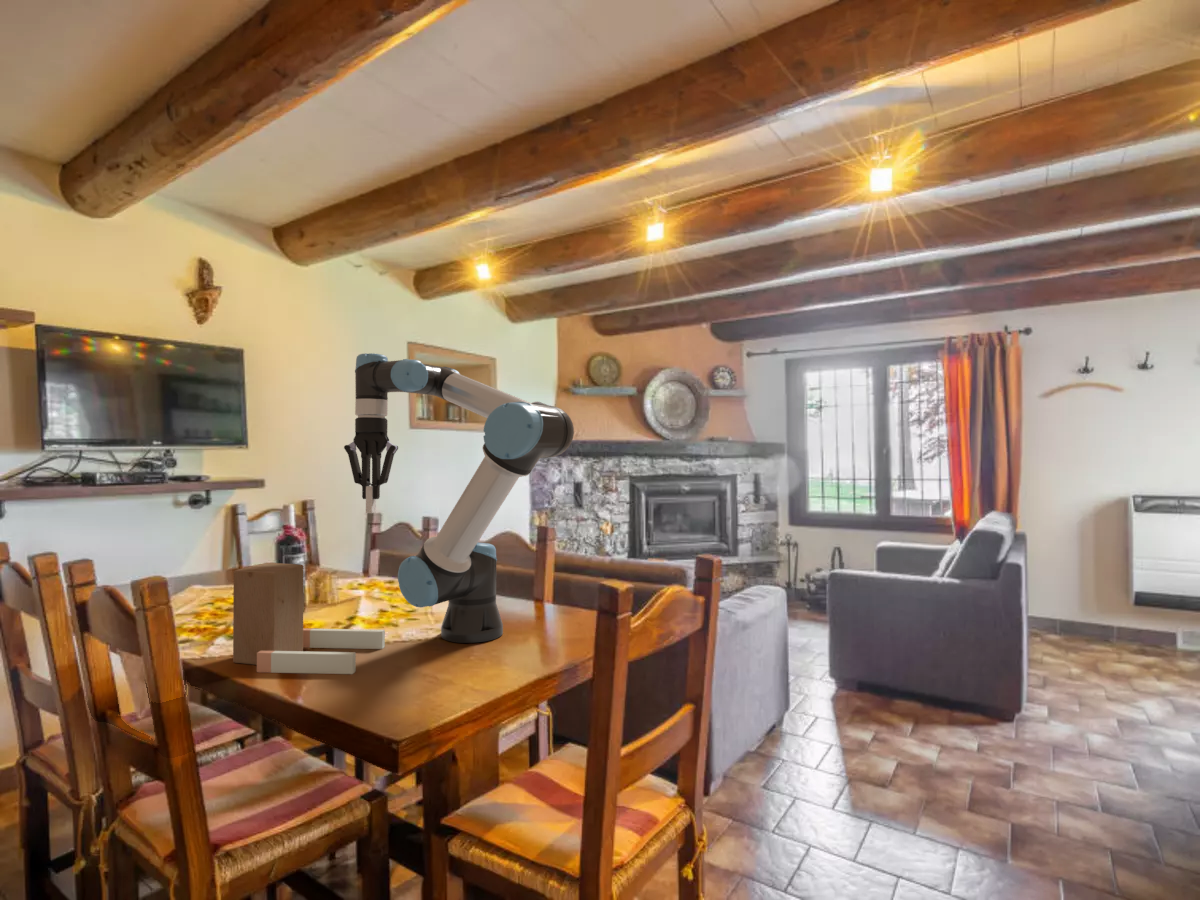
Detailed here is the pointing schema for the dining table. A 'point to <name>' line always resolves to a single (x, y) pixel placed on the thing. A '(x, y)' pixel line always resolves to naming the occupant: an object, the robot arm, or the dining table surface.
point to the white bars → (322, 660)
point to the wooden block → (267, 610)
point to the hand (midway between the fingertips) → (370, 512)
